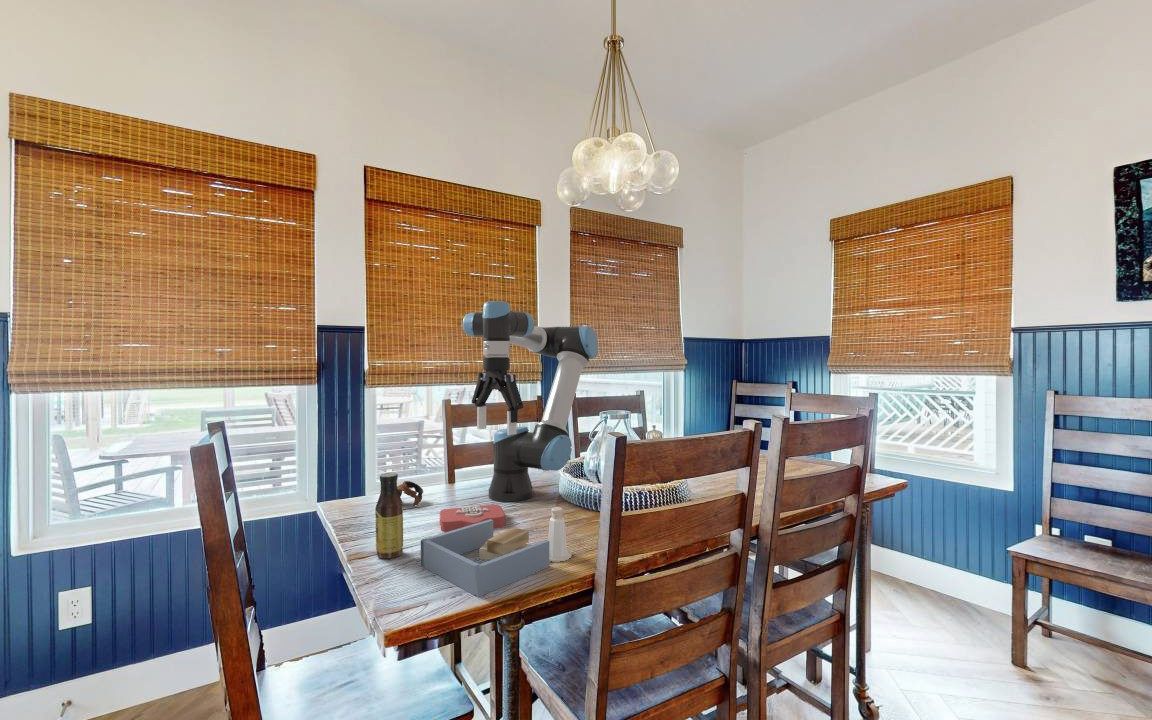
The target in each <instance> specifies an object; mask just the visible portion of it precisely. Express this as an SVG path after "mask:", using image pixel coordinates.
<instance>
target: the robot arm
mask: <svg viewBox="0 0 1152 720" xmlns="http://www.w3.org/2000/svg"><path fill="white" fill-rule="evenodd" d="M482 306H483V309H482V311H481V312H477V311H474V312H469V313H467V314H465V316H464V317H463V319H462V326H461V327H462V330H463V332H464V333H465V334H466V336H468V337H474V338H477V337H480V338H482V355H483V358H482V369H483V371H485V372H479V373H478V374H477V375H478V377H477V383H476V386H475V388H474V392H473V396H472V398H471V404H473V405H474V406H475V407H476V419H477V420H476V423H477V424H476V430H485V429H487V401H488V399H489V397H490V396H491V394H492V392H493V391H494V390H495V391H496V390H497V391H498V392H500V394H501V396H502V398H503V400H504V402H505V403H506V406H507V407H508V409H507V412H506V426H507V427H506V428H502V429H498V430H496V431H495V432H494V434H493V443H492V444H493V475H492V477H491V478H492V479H491V482H490V484H489V485H490V486H489V487H488V498H489V499H490V500H493V501H498V502H520V501H526V500H528V499H530V498H532V497H533V495H534V487H533V485H532V480H531V477H530V475H529V468H531V469H537V470H544V471H560V470H562V469H563V468H564V467H565V466H566V465H567V464H568V462H569V460H570V457H571V454H572V440H571V438H570V437H569V432H568V430H567V424H568V422H569V417H570V415H571V410H572V407H573V405H574V404H573V403H574V399H575V395H576V392H577V390H578V389H577V388H578V386H579V382H580V378H581V373H582V371H583V369H584V368H586V367H588V365H589V361H590V360H592V359H595V358H596V357H597V356H598V353H599V342H598V341H599V340H598V336H597V334H596V332H595V330H594V328H592V327H590V326H583V325H579V326H550V327H549V326H548V327H547V326H546V327H544V326H543V327H542V326H536V325H535V319H534V317H533V316H532V314H530V313H529V312H526V311H523V310H522V311H520V310H519V311H518V310H511V305H510V303H509V302H508V301H503V300H502V301H500V300H499V301H497V300H492V301H486V302H484V303H483V305H482ZM511 345H514V346H518V347H522V348H526V350H528V351H529V352H530V353H535V354H538V355H542V356H546V357H549V358H556V359H557V361H558V364H557V368H556V371H555V375H554V378H553V381H552V384H551V388H550V391H549V394H548V396H547V397H548V398H547V401H546V405H545V407H544V410H543V414H542V416H541V417H542V418H541V421H540V422H538V423H536V424H535V425H534V429H533V431H532V432H531V431H530V430H529V427H528V426H518V425H517V423H518V415H519V414H518V411H519V410H521V409H523V408H524V404H523V401H522V398H521V394H520V391H519V389H518V388H519V387H518V385H517V377H516V374H515V373H509V374H508V371H509V370H510V368H511V367H510V366H511V359H510V357H509V356H510V355H511ZM484 356H485V357H484Z"/></svg>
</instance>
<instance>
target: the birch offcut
mask: <svg viewBox="0 0 1152 720" xmlns="http://www.w3.org/2000/svg"><path fill="white" fill-rule="evenodd" d="M530 545H532V544H530V543H529V544H528V543H526V544H524V545H523V546H521V547H519V548H517V549H515V550H513V551H511V552H514V551H517V550H519V549H522V548H525V547H528V546H530ZM478 549H479V550H478V551H479V552H478V553H479V555H478V556H479V560H485V561H490V560H492V559H495V558H498V557H500V556H502V555H498V554H494V553H490V552H487V541H486V542H485V543H484V545H483V546H482V547H481V548H478ZM511 552H510V553H511ZM508 554H509V553H508Z"/></svg>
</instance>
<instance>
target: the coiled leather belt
mask: <svg viewBox="0 0 1152 720" xmlns="http://www.w3.org/2000/svg"><path fill="white" fill-rule="evenodd" d="M413 488H414V490H413ZM397 493H398V495H399V496H400V498H402V495H403V494H405V495H407V496H409V497H410V498H413V499H414V502H413V504H412V505H413V506H414V507H416V506H415V505H417V506H418V505H419V503H421V501H422V499H423V494H424V490H423V488H422V487H421V486H420V485H419V484H417V483H415V482H413V481H410V480H409V481H408V480H404V481H403V482H402V483H400V484H399V485H397Z"/></svg>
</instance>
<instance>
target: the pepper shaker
mask: <svg viewBox="0 0 1152 720" xmlns="http://www.w3.org/2000/svg"><path fill="white" fill-rule="evenodd" d="M563 513H564V509H563V508H562V507H560V506H555V507H552V508H551V517H550V518H549V523H548V524H549V526H548V536H547V540H548V541H549V556H550V557H552V558H562V557H564V556H566V555H568V554H567V550H568V544H567V535H566V534H567V533H566V521H565V518H564V517H563V516H564V515H563Z"/></svg>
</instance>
